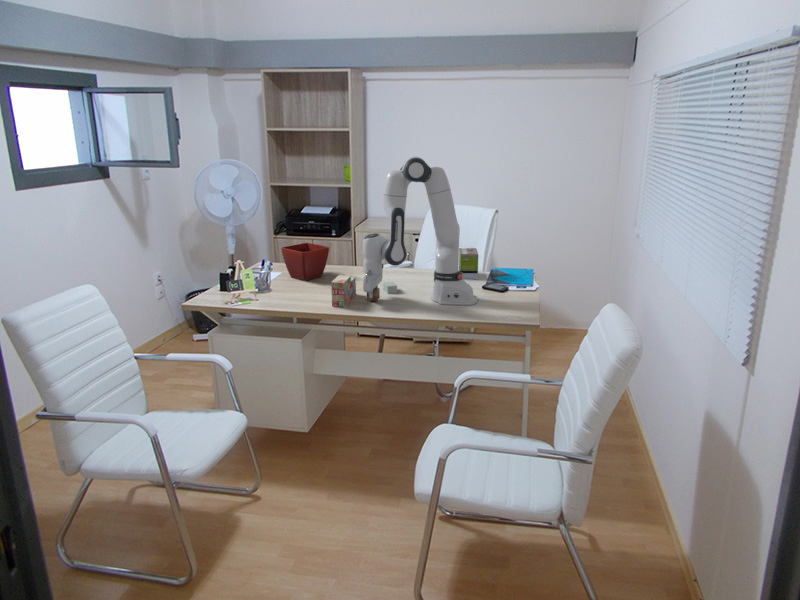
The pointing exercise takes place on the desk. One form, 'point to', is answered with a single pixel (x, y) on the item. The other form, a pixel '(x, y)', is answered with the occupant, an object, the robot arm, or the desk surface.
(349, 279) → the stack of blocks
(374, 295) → the walnut cube
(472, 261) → the tea box
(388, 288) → the sage block
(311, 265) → the plant pot
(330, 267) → the desk surface
